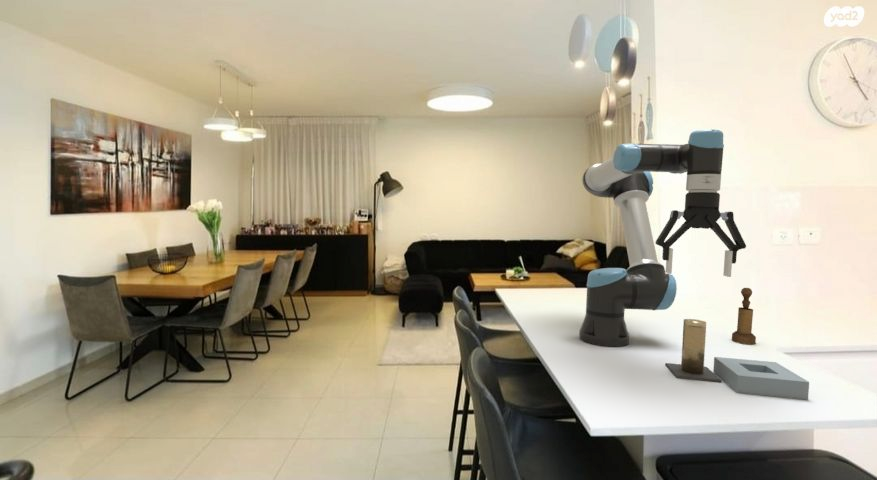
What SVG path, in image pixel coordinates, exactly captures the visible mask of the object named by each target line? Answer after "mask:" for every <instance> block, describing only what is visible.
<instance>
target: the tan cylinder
mask: <svg viewBox="0 0 877 480" xmlns="http://www.w3.org/2000/svg"><path fill="white" fill-rule="evenodd" d="M706 332H707V322H706V321H705V320H700V319H694V318H685V319H683V328H682V346H681V347H682V348H681V363H680V364H681V370H682V371H684V372H686V373H690V374H697V375H700V374H703V372H704V367H705V355H706V353H705V352H706V336H707V333H706Z"/></svg>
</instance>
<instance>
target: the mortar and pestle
mask: <svg viewBox="0 0 877 480" xmlns="http://www.w3.org/2000/svg"><path fill="white" fill-rule="evenodd" d="M740 293H741V295H742V298H743V299H742V301H741V304H742V306H741V307H738V312H737V314H738V315H737V326H736V331H734V332H732V333H731V340H732V341H733V342H735V343H738V342H739V344H742V343H745V344H744V345H751V346H752V345H756V340H757V339H756V338H757V337H756V336H755V335H754V333H752V329H753V328H752V327H753V316H754V309H753V308H750V305H751V301H750V297H752V294H753V291H752V289H751V288H750V287H743V288H742V289H741V291H740Z"/></svg>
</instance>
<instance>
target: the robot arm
mask: <svg viewBox="0 0 877 480" xmlns="http://www.w3.org/2000/svg"><path fill="white" fill-rule="evenodd" d="M724 146H725V144H724V132H723V131H722V130H719V129H712V128H711V129H699V130H694V131H692V132H691V133H690V135H689V138H688V140H687V143H685V144H684V143H683V144H666V143H662V144H661V143H660V144H655V143H634V142H632V143H631V142H629V143H621V144H619V145H617V146H616V148H615V150H614V153H613V156H612V157H610V158H609V159H607V160H605V161H603V162H602V163H595V164H594V165H591V166H589V167H588V168H587V169H586V170H585V171H584V172H583V175H582V178H581V179H582V185H583V187H584V189H585V190H586V192H588V193H589V194H590V195H592V196H595V197H598V198H606V199H607V198H610V199H613V204H614V205H615V206H616V207H618V208H619V212H620V218H621V224H622V228H623V235H624V241H625V245H626V251H627V257H628V258H627V259H628V263H629V267H627V269H626V268H624V267H623V268H622V267H605V268H603V267H602V268H597V269H596V268H595V269H593V270H591V271H590V272H588V275H587V281H586V301H585V302H586V303H585V304H586V305H585V317H584V319H583V320H582V321H583V322H582V323H581V326H580V329H579V331H578V332H579V335H578V336H579V337H578V338H579V339H580V340H581V341H583V342H585V343H589V344H592V345H596V346H601V347H602V346H605V347H624V346H628V345H629V344H630V335H629V332H628V328H627V325H626V321H625V320H626V319H625V310H644V311H645V310H646V311H647V310H648V311H660V310H661V311H665V310H668V309H669V308H671V306H672V305H673V304H674V301H675V299H676V295H677V289H678V288H677V287H678V286H677V280H676V278H675V276H673V275H672V271H673V270H672V269H673V256H674V255H673V254H674V248H671V247H672V246H673V244H674V243H676V241H678V240H679V239H680V238H681V237H682V236H683V235H684V234H685V233H686V232H687V231H688V230H689V229H708V230H709V229H710V230H711V231H713V232H714V234H715V235H716V236H717V237H718V238H719V240H721V242H722V243H723V244H724V245H725V246H726V247H727V250H724V260H723V261H724V262H723V276H724V277H727V278H731V277H732V267H733V266H732V265H733V264H736V263H737V253H738V251H740V250H742V249H743V250H744V249H746V248H747V244H746V242H745V240H744V238H743V237H742V234H741V232H740V230H739V227H738V226H737V224H736V222H735V219H734V217H735V215H734V212H733V211H725V212H724V211H723V212H720V199H721V194H720V193H719V191H720V190H721V185H722V184H721V182H722V171H723V170H722V169H723V157H724V148H725V147H724ZM651 172H656V173H660V172H661V173H670V174H676V175H677V174H680V175H681V174H684V173H686V183H685V184H686V185H685V190H686V191H688V192H687V193H686V194H685V200H684V210H683V211H680V210H679V211H678V210H676V209H675V210H670V215H669V219H668V221H667V222H666V223H665V226H664V227H663V229H662V231H660V234H659V235H658V236H657V239H656V240H655V241H654V238H653V237H654V236H653V232H652V227H651V223H650V219H649V218H650V217H649V212H648V208H647V204H646V203H647V202H648V200H649V198H650V197H651V195H652V193H653V190H654V186H653V185H654V179H653V175H652V173H651ZM681 217H682V218H683V219H684V220H685V221H684V222H683V223H682V224H681V225H680V227H679V228H678V229H677V230H676V231H674V233H673V234H672V235H670V237H669V238H668V239H667V237H668V235H669V234H670V232H671V231H672V229H673V228H674V226H675V224H676V223H677V221H678V220H680V219H681ZM720 218H721V220H722V221H724V223H725V225H726V227H727V229H728V231H729V234H730V235H731V238H732V239H731V238H730V237H729V235H728V234H727V233H726V232H725V231H724V230H723V229H722V227H721V225H719V223H718V220H720ZM732 240H733V241H732ZM655 245H657V246H659V247H661V248H662V257H661V258H662V260H663V261H666V263H665V265H664V264H662V263H660V262H658V256H657V251H656V246H655Z"/></svg>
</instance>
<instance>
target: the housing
mask: <svg viewBox="0 0 877 480" xmlns="http://www.w3.org/2000/svg"><path fill="white" fill-rule="evenodd" d="M712 372H713V373H714V374H715V375H717V376H718V377H719V378H720V379H721V380H722V382H724V383H726V384H727V385H728V386H729V387H731V388H732V389H733V390H734V391H735V393H738V394H739V393H740V394H746V395H747V394H750V395H759V396H767V397H778V398H789V399H790V398H791V399H798V400H809V390H810V381H809V380H807V379H805V378H803V377H801V376H800V375H799V374H797V373H795V372H793V371H791V370H789V369H788V368H786V367H785V366H783V365H781V364H780V363H778V362H776V361H768V360H755V359H746V358H745V359H744V358H742V359H741V358H732V357H721V356H720V357H719V356H714V358H713V371H712Z"/></svg>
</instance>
